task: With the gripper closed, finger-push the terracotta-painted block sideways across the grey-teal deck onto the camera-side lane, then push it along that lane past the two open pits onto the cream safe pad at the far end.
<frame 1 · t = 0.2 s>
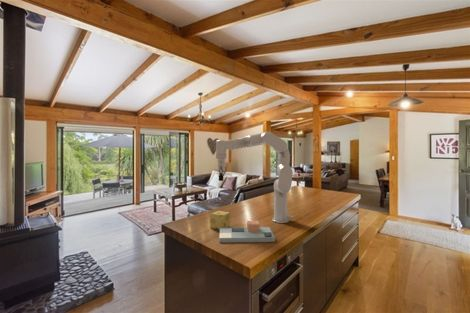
hand: (221, 179, 171), 31 cm above the worktop, fingers open, 9 cm apart
cheese: (220, 227, 160), on the worktop
block: (253, 229, 147), point 2 cm above the worktop, touching trap deck
trap deck: (245, 236, 142), on the worktop
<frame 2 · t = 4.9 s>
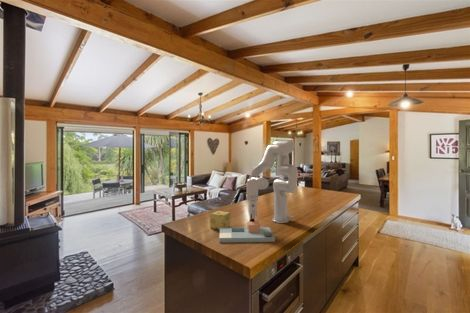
hand: (252, 225, 152), 4 cm above the worktop, fingers closed
block: (253, 230, 146), point 3 cm above the worktop, touching gripper
everything else where it was.
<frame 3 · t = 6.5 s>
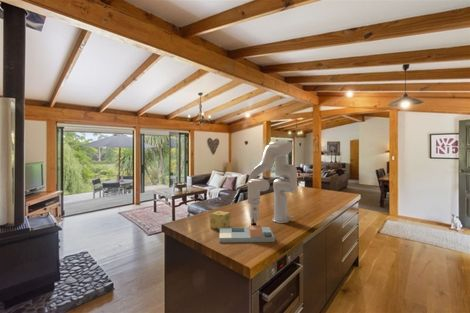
hand: (253, 229, 144), 3 cm above the worktop, fingers closed
block: (255, 234, 138), point 3 cm above the worktop, touching gripper
everything else where it was.
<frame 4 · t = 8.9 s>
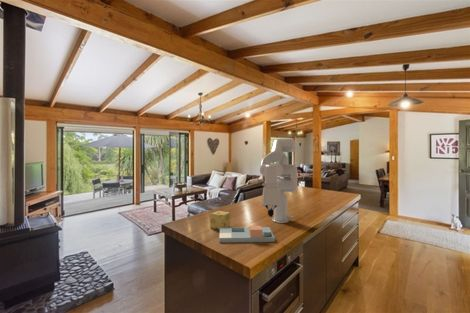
hand: (270, 216, 138), 13 cm above the worktop, fingers closed
block: (255, 235, 137), point 2 cm above the worktop, touching trap deck
everything else where it was.
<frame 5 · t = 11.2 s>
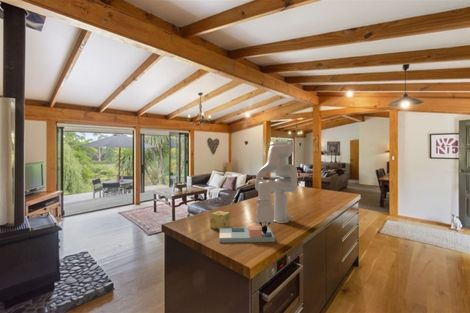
hand: (264, 232, 139), 4 cm above the worktop, fingers closed
block: (254, 235, 137), point 2 cm above the worktop, touching gripper, trap deck
everything else where it was.
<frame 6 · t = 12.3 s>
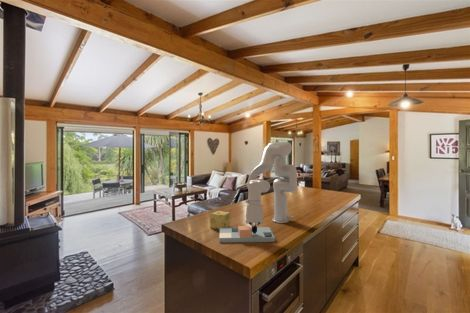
hand: (254, 232, 138), 4 cm above the worktop, fingers closed
block: (244, 235, 137), point 3 cm above the worktop, touching gripper
everything else where it was.
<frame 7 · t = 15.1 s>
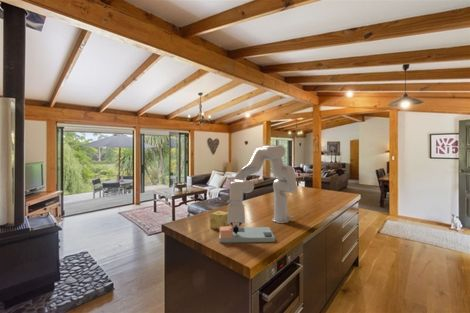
hand: (235, 233, 138), 4 cm above the worktop, fingers closed
block: (226, 235, 136), point 2 cm above the worktop, touching gripper, trap deck
everything else where it was.
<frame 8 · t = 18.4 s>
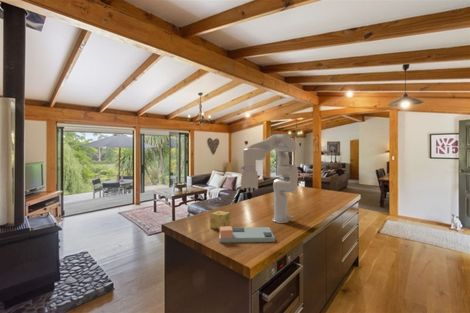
hand: (249, 198, 142), 23 cm above the worktop, fingers closed
block: (226, 235, 136), point 2 cm above the worktop, touching trap deck
everything else where it was.
at the end: block inside the target area on the trap deck (1.2 cm from its centre), point 2.5 cm above the trap deck's base; block tilted 0° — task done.
